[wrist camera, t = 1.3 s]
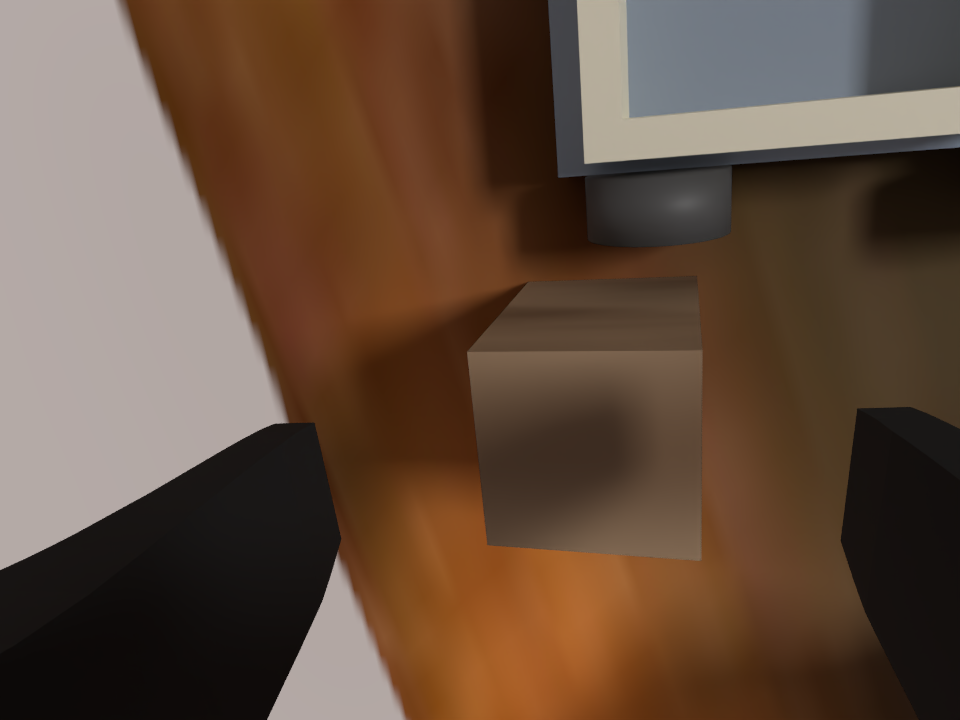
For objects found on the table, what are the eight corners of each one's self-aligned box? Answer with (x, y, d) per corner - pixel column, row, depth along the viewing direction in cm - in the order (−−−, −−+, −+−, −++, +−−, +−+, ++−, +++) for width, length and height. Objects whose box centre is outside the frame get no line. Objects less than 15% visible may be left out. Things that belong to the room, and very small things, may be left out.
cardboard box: (696, 432, 19) (701, 561, 14) (539, 428, 21) (487, 544, 15) (696, 275, 18) (702, 350, 13) (528, 281, 19) (467, 352, 14)
